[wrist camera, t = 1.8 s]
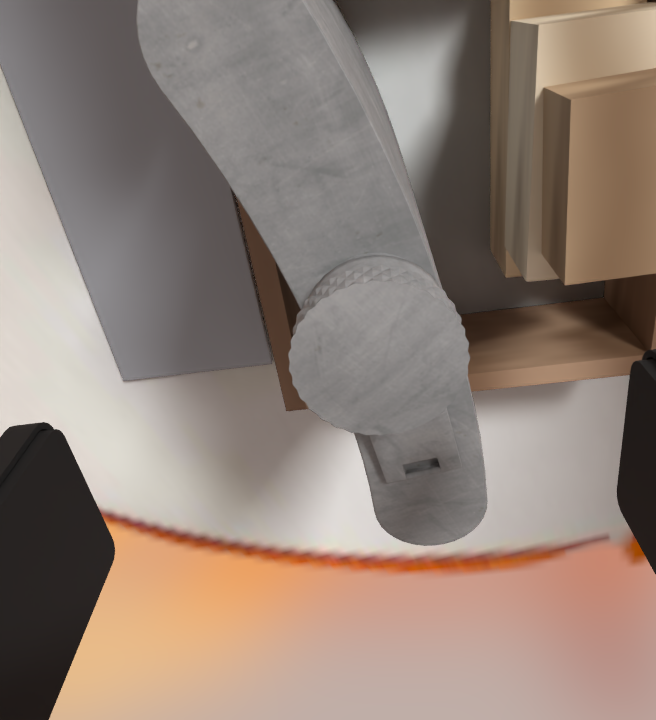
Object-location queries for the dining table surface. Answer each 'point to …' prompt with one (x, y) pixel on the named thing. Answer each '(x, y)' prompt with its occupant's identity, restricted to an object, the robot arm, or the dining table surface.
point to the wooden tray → (500, 331)
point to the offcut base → (507, 6)
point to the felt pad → (132, 191)
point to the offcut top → (600, 177)
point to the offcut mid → (525, 110)
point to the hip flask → (334, 240)
